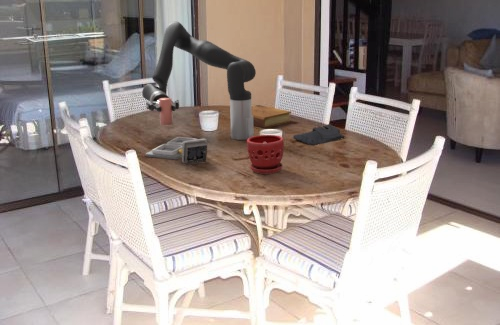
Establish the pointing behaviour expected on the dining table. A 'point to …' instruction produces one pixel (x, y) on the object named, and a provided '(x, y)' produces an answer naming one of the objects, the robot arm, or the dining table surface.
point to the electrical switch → (194, 151)
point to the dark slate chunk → (320, 135)
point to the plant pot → (265, 153)
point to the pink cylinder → (166, 111)
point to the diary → (269, 116)
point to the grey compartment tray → (169, 149)
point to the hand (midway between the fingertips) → (166, 109)
